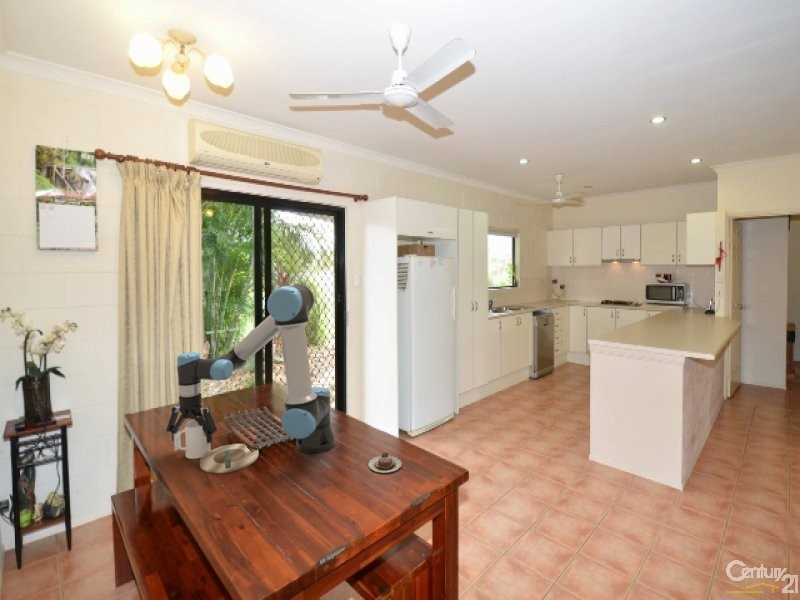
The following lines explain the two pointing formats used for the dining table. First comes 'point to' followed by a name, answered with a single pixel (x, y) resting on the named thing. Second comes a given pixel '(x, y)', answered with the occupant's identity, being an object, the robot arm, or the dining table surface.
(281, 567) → the dining table surface
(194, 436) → the mug
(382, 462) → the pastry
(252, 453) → the cream saucer dish
